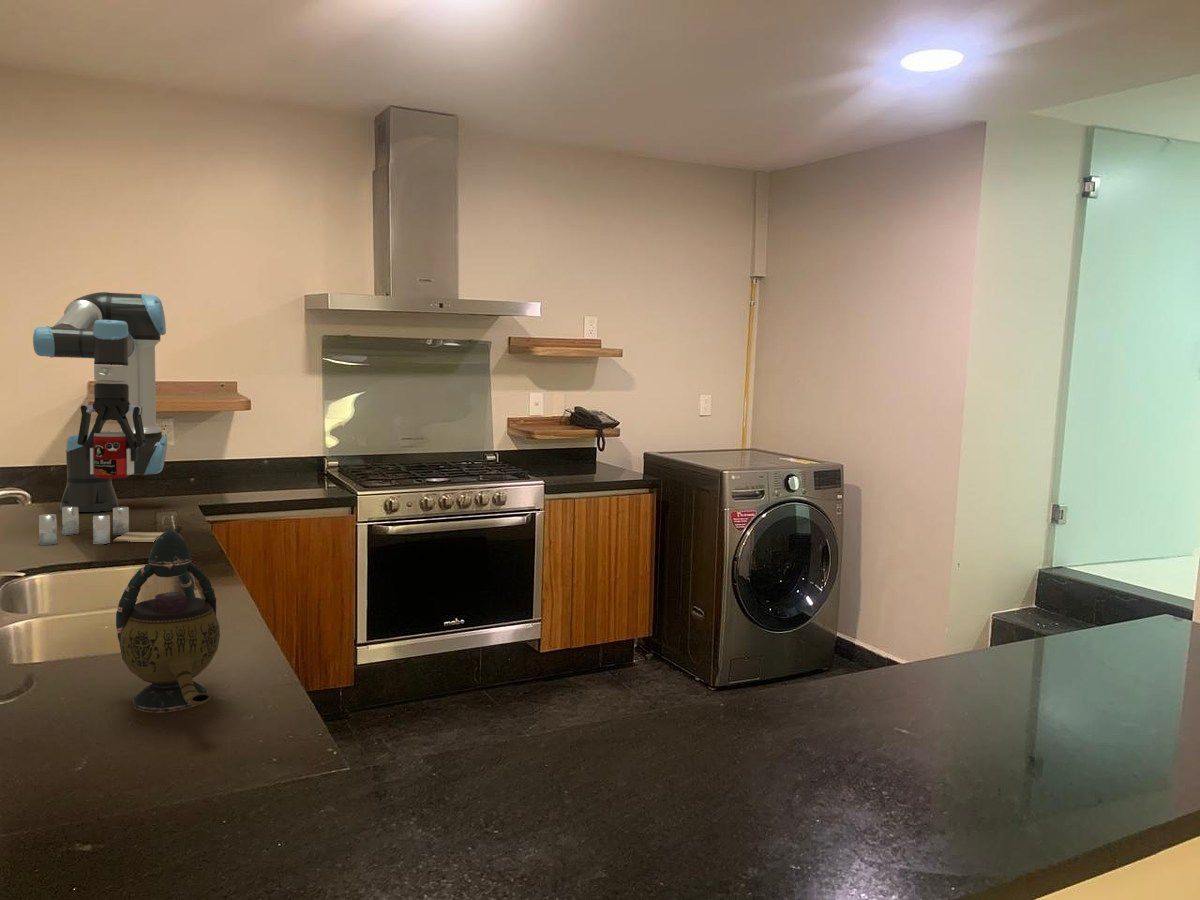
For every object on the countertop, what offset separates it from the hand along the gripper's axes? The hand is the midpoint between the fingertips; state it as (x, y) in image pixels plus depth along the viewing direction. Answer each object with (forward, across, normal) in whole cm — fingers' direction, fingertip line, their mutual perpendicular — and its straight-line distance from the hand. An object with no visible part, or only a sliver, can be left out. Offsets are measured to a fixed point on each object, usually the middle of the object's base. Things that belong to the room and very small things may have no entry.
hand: (112, 473), depth 223 cm
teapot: (+17, +52, -117) cm, 129 cm away
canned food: (+1, 0, 0) cm, 1 cm away
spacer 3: (+17, 0, -7) cm, 18 cm away
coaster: (+17, +6, +1) cm, 18 cm away
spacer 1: (+17, -12, -7) cm, 22 cm away
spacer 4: (+17, 0, +6) cm, 18 cm away
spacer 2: (+17, -12, +6) cm, 22 cm away
